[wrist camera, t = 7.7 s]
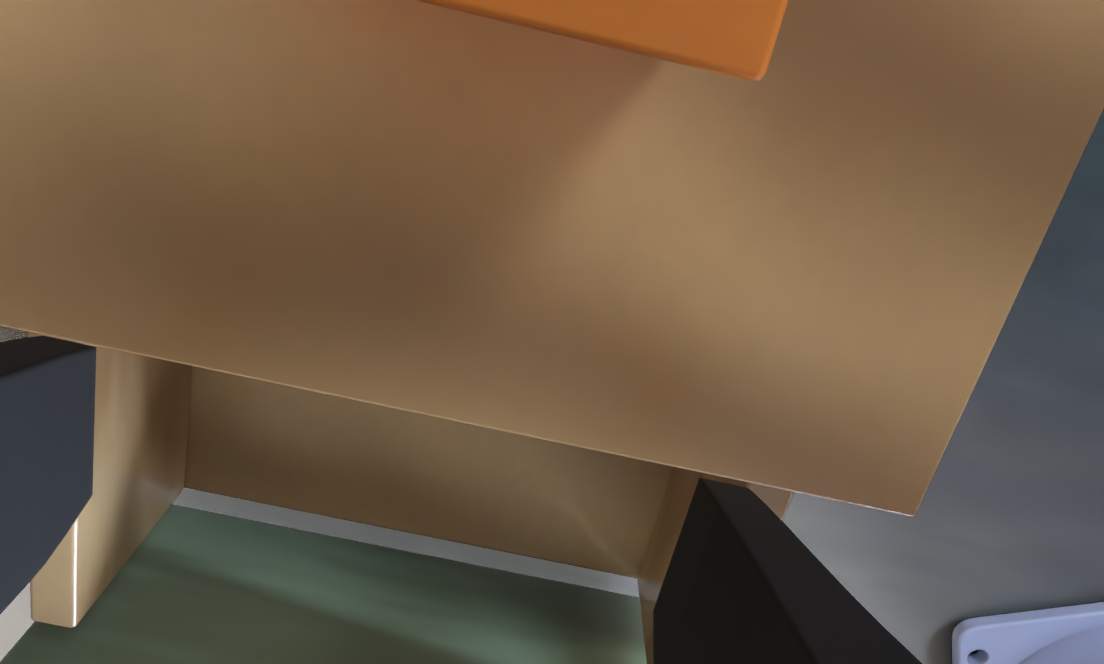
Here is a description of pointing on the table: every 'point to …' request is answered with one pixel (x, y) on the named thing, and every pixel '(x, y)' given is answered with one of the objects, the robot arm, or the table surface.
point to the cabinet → (554, 216)
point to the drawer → (335, 563)
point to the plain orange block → (654, 27)
